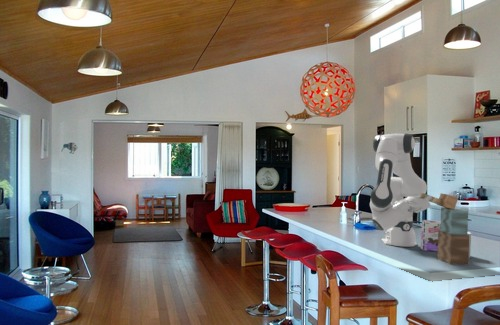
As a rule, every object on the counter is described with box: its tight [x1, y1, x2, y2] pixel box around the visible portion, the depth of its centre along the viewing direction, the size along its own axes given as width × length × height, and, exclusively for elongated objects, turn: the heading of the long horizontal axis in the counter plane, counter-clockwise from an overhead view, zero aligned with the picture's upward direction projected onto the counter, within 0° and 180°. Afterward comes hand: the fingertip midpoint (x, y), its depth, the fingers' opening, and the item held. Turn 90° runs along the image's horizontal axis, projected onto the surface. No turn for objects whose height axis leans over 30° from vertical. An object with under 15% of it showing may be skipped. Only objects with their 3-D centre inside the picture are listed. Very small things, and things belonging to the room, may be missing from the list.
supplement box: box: [467, 231, 472, 259], centre depth 251 cm, size 7×7×13 cm
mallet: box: [420, 192, 459, 210], centre depth 236 cm, size 8×16×6 cm, turn 96°
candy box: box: [420, 219, 441, 252], centre depth 264 cm, size 14×6×16 cm, turn 82°
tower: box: [436, 206, 470, 265], centre depth 238 cm, size 13×9×26 cm
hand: (428, 196), depth 236 cm, fingers closed on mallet, 3 cm apart
